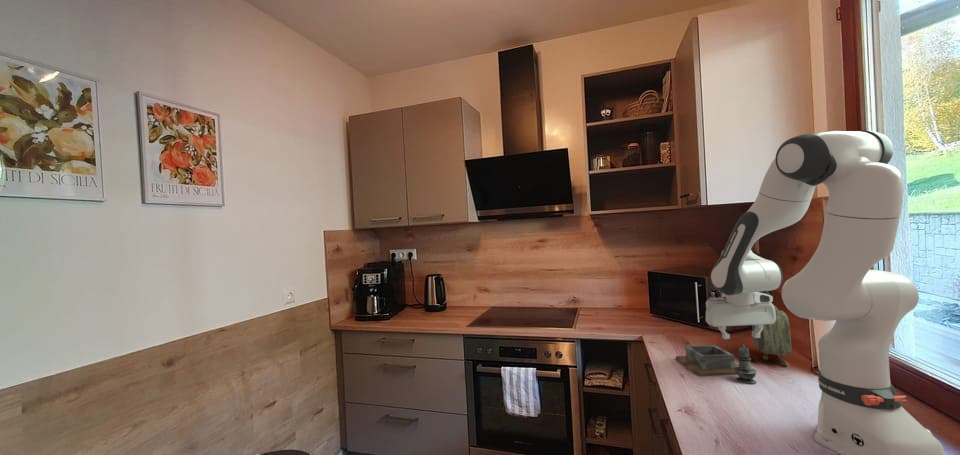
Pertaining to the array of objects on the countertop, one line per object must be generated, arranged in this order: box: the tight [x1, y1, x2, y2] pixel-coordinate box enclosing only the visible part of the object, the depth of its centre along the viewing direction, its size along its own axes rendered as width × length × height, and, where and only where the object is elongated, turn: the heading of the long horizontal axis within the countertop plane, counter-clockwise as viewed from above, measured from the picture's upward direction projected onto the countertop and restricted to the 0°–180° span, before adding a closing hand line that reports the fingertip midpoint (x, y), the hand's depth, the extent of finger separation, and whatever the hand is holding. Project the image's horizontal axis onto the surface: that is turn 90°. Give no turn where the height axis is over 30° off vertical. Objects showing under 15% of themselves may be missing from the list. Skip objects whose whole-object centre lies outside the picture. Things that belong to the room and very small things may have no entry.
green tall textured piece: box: [751, 291, 793, 367], centre depth 128 cm, size 14×9×25 cm, turn 148°
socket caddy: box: [675, 344, 739, 377], centre depth 127 cm, size 16×16×6 cm
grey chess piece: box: [734, 343, 758, 385], centre depth 113 cm, size 6×6×12 cm
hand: (741, 338), depth 114 cm, fingers open, 8 cm apart
